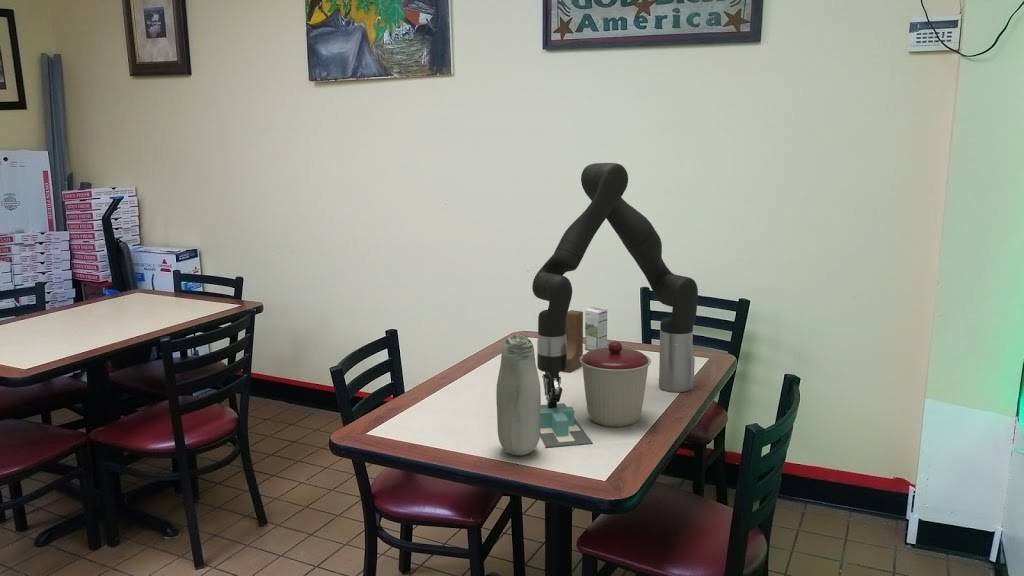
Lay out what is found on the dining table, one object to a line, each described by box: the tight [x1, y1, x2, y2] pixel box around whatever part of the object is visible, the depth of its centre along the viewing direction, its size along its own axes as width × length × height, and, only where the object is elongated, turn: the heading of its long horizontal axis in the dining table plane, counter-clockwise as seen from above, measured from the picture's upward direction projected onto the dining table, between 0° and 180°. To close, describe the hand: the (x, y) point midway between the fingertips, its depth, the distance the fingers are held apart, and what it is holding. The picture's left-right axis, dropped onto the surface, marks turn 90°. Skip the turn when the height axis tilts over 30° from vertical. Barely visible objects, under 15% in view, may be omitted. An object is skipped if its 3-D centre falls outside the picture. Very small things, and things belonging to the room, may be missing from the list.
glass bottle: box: [495, 334, 542, 457], centre depth 172 cm, size 10×10×28 cm
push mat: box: [539, 402, 593, 449], centre depth 191 cm, size 12×28×1 cm, turn 10°
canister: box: [579, 340, 652, 428], centre depth 192 cm, size 18×18×21 cm
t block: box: [540, 406, 575, 437], centre depth 187 cm, size 9×9×4 cm
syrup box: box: [584, 306, 608, 351], centre depth 258 cm, size 6×6×14 cm
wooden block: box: [563, 309, 584, 373], centre depth 237 cm, size 9×4×18 cm, turn 148°
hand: (552, 415), depth 193 cm, fingers closed
